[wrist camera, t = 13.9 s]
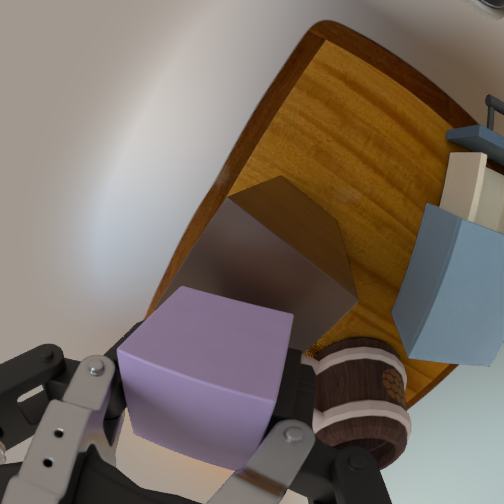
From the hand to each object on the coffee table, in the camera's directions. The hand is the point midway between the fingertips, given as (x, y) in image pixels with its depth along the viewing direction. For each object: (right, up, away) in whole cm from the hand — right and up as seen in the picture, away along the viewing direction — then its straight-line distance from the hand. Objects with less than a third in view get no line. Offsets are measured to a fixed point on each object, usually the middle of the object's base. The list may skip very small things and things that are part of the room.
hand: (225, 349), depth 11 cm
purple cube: (0, 0, 0) cm, 0 cm away
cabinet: (+26, +1, +19) cm, 32 cm away
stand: (+5, +7, +22) cm, 24 cm away
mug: (+14, -12, +27) cm, 32 cm away
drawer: (+28, +12, +14) cm, 33 cm away
